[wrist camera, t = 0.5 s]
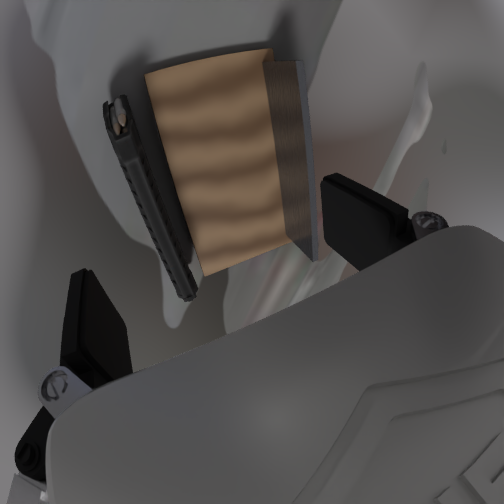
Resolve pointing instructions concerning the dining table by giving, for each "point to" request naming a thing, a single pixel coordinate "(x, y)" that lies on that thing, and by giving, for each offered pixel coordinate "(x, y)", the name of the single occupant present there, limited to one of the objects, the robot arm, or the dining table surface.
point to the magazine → (147, 194)
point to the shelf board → (221, 154)
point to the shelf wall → (293, 151)
